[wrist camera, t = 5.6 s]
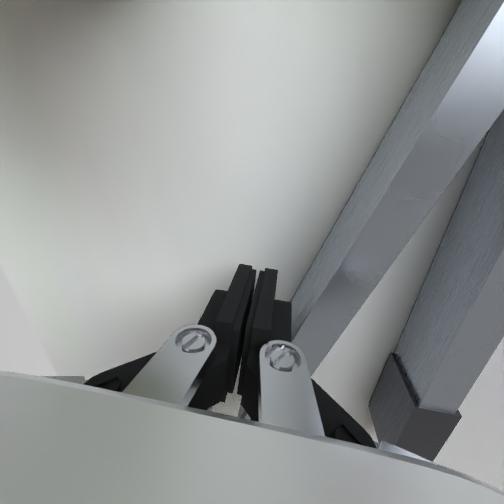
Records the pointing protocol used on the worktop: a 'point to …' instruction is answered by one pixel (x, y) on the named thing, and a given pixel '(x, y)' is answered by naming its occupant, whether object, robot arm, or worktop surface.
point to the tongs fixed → (450, 317)
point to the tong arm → (405, 175)
